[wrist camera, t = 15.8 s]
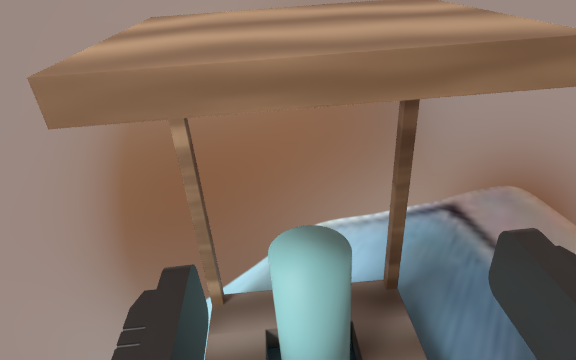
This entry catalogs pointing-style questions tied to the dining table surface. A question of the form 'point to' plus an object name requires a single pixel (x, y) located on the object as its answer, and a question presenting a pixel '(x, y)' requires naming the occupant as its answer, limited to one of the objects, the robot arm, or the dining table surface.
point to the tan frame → (298, 95)
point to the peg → (312, 293)
